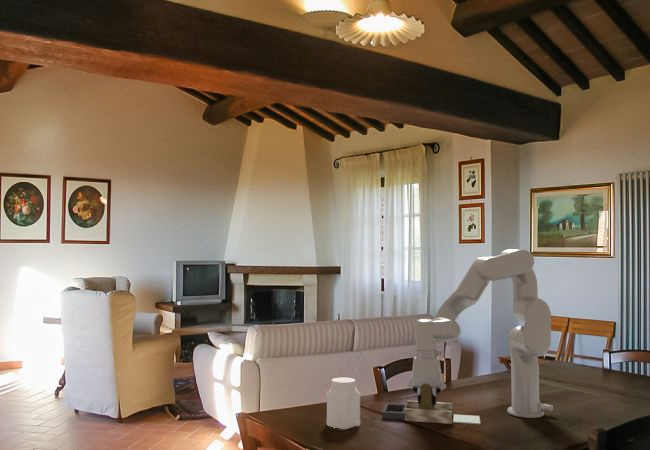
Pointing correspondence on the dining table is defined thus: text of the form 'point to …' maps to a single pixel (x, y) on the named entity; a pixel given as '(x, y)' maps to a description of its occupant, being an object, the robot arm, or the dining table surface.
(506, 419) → the dining table surface
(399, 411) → the box
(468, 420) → the pad
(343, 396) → the jar
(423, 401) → the cork
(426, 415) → the birch lane
